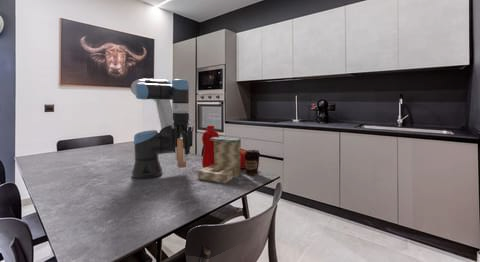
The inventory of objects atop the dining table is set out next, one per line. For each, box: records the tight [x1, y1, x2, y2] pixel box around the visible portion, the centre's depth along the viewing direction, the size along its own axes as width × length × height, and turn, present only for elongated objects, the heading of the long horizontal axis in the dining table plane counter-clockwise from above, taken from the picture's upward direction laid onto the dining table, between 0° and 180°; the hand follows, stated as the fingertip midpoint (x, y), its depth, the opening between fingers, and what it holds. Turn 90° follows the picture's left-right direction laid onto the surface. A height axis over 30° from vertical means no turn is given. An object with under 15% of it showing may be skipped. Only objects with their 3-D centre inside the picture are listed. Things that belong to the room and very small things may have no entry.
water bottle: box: [201, 124, 220, 168], centre depth 142 cm, size 9×11×25 cm
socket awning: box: [197, 136, 242, 184], centre depth 123 cm, size 16×17×19 cm
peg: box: [177, 138, 187, 169], centre depth 114 cm, size 4×4×14 cm
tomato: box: [241, 149, 247, 169], centre depth 140 cm, size 14×13×10 cm
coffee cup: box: [245, 149, 261, 176], centre depth 126 cm, size 9×8×13 cm
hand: (181, 160), depth 115 cm, fingers closed on peg, 4 cm apart
